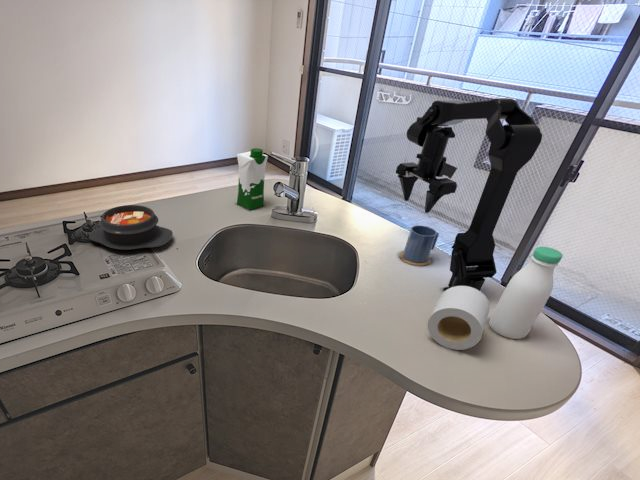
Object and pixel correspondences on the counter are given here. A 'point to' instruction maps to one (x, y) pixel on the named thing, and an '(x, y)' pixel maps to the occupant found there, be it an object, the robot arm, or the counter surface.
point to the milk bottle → (526, 295)
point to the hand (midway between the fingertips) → (416, 206)
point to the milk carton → (251, 178)
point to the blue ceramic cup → (420, 244)
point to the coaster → (413, 262)
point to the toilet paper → (459, 317)
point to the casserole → (130, 229)
